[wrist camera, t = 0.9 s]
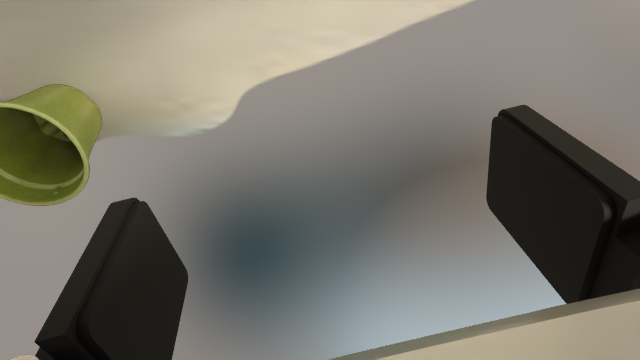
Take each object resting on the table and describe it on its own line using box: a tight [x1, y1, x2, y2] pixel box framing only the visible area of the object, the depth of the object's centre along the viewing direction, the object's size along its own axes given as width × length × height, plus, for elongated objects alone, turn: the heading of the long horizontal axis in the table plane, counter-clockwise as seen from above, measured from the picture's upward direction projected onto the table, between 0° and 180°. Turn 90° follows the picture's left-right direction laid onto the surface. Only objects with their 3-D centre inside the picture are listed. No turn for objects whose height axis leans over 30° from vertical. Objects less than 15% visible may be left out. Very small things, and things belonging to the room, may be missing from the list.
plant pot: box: [0, 84, 102, 206], centre depth 33 cm, size 9×9×9 cm
